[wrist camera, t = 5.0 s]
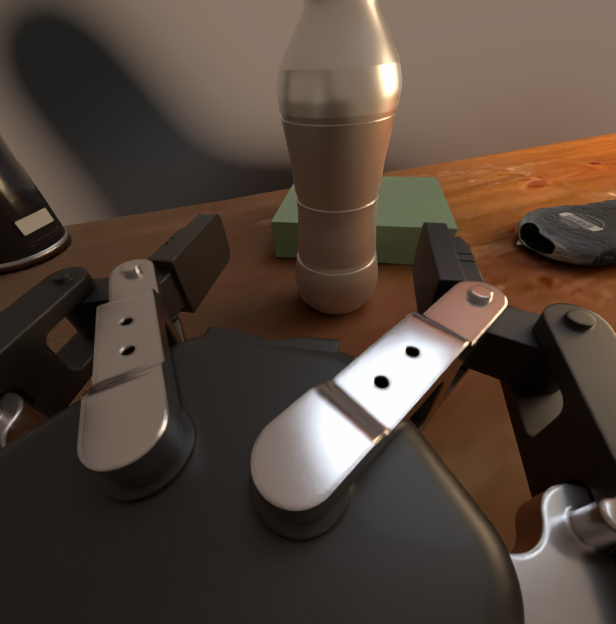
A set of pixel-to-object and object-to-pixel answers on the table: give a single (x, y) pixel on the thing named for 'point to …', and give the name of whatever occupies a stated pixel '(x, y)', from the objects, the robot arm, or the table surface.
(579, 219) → the dark grey hollow sleeve
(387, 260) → the riser
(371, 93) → the silver metal bottle
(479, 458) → the table surface
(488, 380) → the table surface
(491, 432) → the table surface
